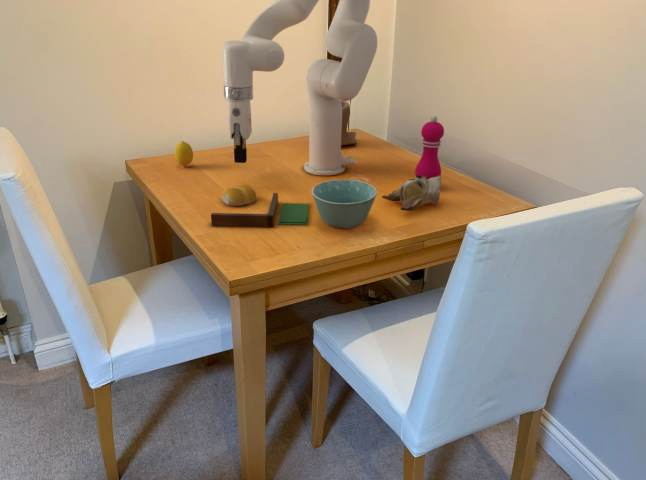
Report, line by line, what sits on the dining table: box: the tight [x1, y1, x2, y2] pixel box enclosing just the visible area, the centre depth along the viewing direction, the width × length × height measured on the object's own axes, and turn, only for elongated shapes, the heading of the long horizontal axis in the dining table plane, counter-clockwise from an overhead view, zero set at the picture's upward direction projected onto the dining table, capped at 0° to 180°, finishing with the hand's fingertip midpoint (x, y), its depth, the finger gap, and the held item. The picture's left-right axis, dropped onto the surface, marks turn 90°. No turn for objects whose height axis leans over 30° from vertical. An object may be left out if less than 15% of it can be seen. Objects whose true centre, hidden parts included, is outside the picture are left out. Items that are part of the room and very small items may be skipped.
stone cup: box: [341, 100, 357, 146], centre depth 196 cm, size 15×12×15 cm
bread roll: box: [221, 185, 257, 207], centre depth 155 cm, size 8×9×4 cm
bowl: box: [311, 179, 378, 230], centre depth 142 cm, size 16×16×8 cm
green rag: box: [277, 202, 310, 226], centre depth 148 cm, size 7×13×1 cm, turn 178°
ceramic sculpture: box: [381, 175, 442, 212], centre depth 151 cm, size 11×9×15 cm
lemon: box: [173, 140, 194, 168], centre depth 177 cm, size 6×6×8 cm
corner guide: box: [210, 192, 279, 228], centre depth 147 cm, size 15×15×3 cm
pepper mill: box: [414, 115, 445, 180], centre depth 160 cm, size 7×7×20 cm
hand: (240, 161), depth 160 cm, fingers closed
